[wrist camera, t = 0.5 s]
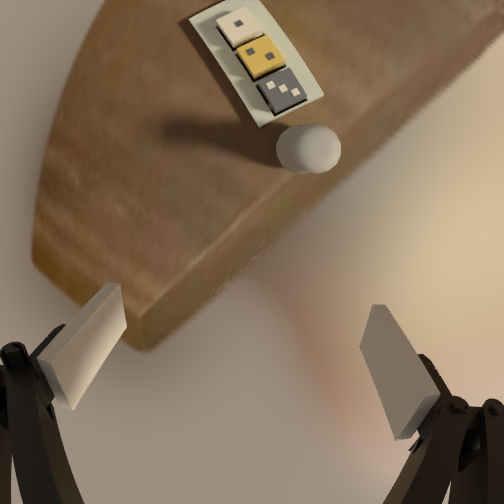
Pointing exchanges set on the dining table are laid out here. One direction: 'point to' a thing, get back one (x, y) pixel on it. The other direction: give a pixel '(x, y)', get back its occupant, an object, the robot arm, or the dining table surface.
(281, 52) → the tile board
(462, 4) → the dining table surface
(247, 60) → the tile
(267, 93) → the tile
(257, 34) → the tile
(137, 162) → the dining table surface
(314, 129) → the salt shaker
